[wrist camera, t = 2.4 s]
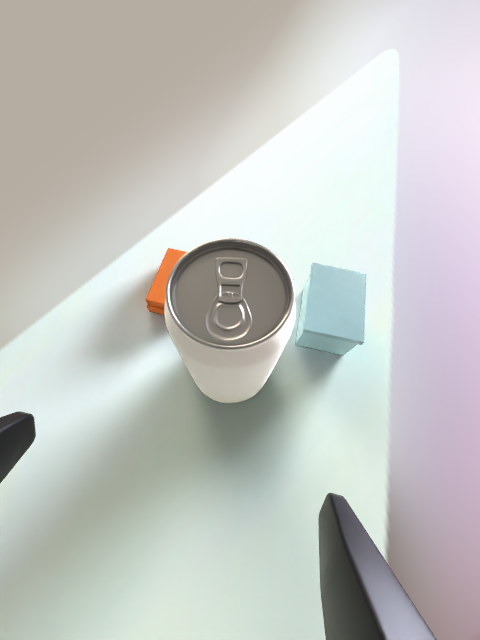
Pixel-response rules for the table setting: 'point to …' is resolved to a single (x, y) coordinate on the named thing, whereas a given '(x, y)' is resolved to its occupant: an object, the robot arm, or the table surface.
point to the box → (332, 310)
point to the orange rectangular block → (162, 281)
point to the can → (230, 315)
